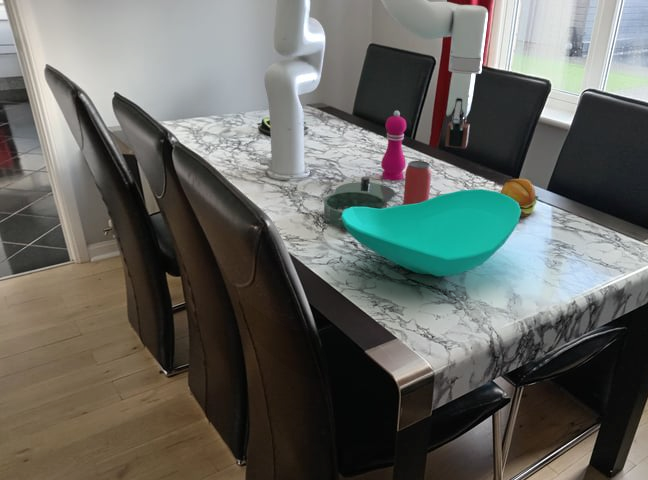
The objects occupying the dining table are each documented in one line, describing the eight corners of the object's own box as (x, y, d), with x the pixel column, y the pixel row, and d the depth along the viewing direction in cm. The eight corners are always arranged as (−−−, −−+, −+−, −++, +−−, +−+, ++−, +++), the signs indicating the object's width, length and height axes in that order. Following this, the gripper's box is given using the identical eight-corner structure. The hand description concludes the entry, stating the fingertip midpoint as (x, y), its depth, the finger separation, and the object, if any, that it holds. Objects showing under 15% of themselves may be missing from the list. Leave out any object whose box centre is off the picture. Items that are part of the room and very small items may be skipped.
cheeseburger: (536, 206, 158) (543, 175, 151) (530, 229, 151) (537, 197, 144) (500, 200, 160) (504, 169, 154) (492, 222, 153) (497, 190, 146)
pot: (311, 230, 137) (311, 212, 134) (337, 200, 154) (338, 184, 152) (374, 239, 134) (375, 222, 132) (393, 208, 152) (394, 192, 149)
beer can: (410, 214, 149) (414, 169, 143) (398, 205, 154) (401, 161, 148) (432, 210, 152) (436, 166, 146) (419, 202, 157) (423, 159, 151)
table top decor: (465, 228, 143) (472, 176, 136) (542, 277, 122) (554, 219, 115) (317, 256, 125) (316, 198, 118) (377, 318, 104) (381, 252, 98)
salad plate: (292, 122, 225) (292, 110, 223) (321, 132, 214) (321, 120, 212) (250, 129, 213) (249, 116, 211) (278, 140, 202) (278, 127, 200)
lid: (327, 201, 153) (327, 183, 151) (345, 182, 167) (345, 165, 165) (386, 210, 150) (388, 191, 148) (400, 189, 164) (401, 172, 162)
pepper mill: (402, 183, 169) (407, 114, 159) (378, 181, 170) (381, 112, 160) (406, 176, 175) (411, 109, 166) (383, 173, 176) (386, 106, 167)
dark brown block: (445, 146, 141) (447, 125, 138) (447, 142, 144) (449, 121, 142) (465, 148, 140) (468, 127, 137) (467, 144, 143) (469, 124, 141)
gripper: (454, 58, 141) (446, 134, 149) (443, 68, 126) (436, 150, 135) (484, 61, 139) (475, 137, 148) (478, 71, 125) (467, 154, 134)
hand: (456, 142), depth 142 cm, fingers closed on dark brown block, 4 cm apart
